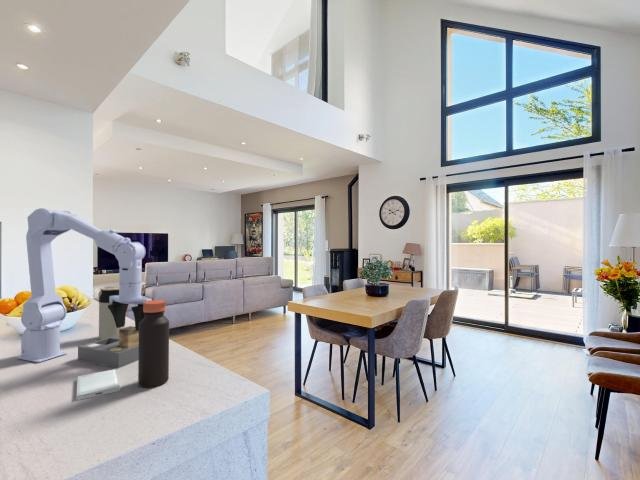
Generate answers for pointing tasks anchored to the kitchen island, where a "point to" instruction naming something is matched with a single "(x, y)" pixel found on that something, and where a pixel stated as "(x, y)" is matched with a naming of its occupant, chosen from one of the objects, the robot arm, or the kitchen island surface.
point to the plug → (128, 337)
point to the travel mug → (107, 313)
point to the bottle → (153, 345)
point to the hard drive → (97, 384)
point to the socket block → (108, 353)
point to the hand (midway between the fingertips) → (129, 328)
